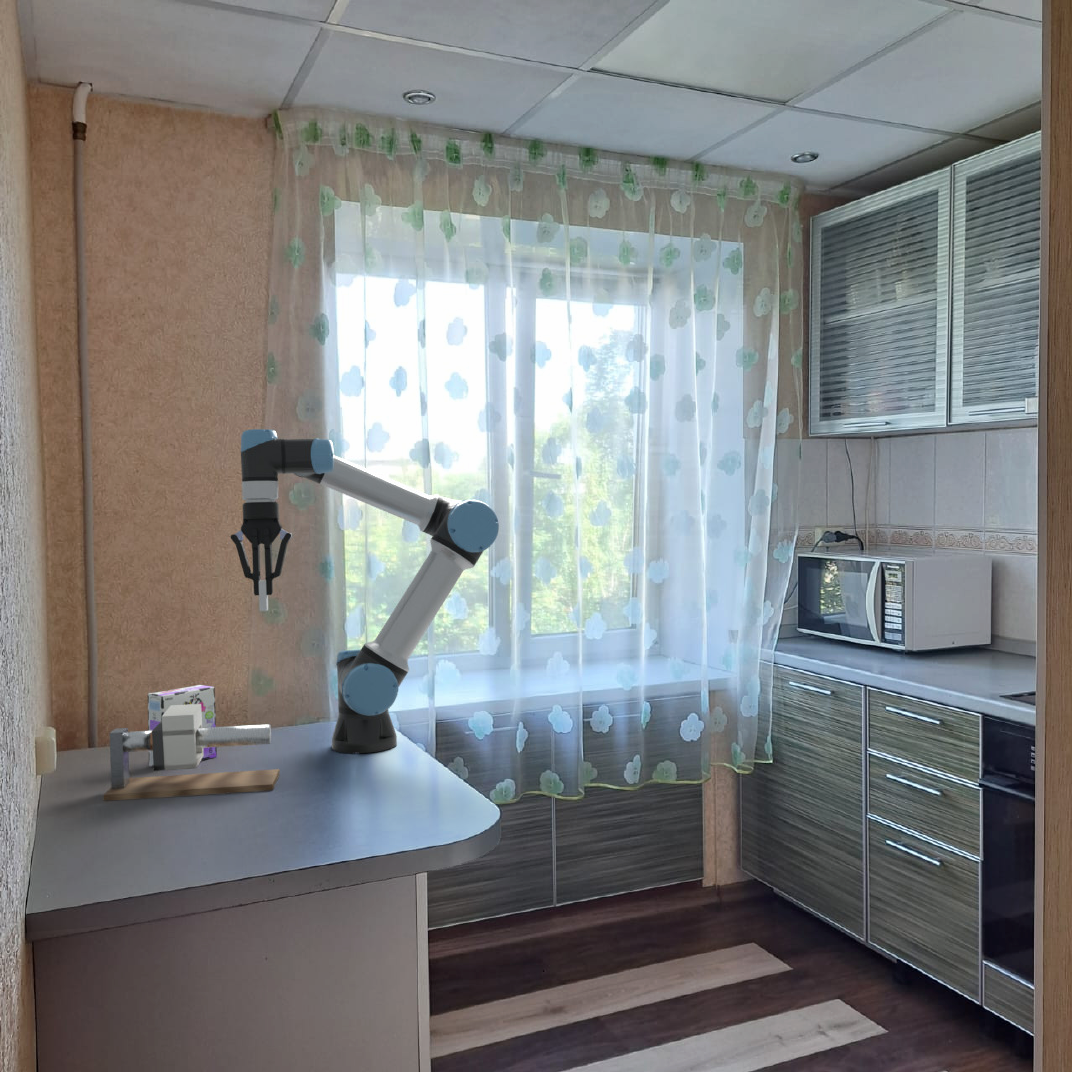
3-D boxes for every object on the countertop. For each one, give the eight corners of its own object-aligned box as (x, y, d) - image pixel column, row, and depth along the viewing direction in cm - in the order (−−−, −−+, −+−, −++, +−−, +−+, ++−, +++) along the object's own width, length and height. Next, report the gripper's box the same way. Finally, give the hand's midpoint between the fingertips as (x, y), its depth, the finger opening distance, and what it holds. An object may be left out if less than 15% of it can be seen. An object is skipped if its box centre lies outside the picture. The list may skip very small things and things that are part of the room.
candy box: (163, 770, 212) (160, 695, 212) (148, 766, 216) (145, 692, 215) (218, 757, 223) (215, 685, 223) (202, 753, 227) (200, 683, 226)
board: (279, 774, 206) (279, 769, 206) (272, 790, 194) (272, 784, 194) (120, 784, 201) (120, 778, 201) (103, 800, 189) (103, 794, 189)
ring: (173, 758, 201) (171, 720, 200) (164, 770, 193) (162, 730, 192) (163, 759, 201) (161, 720, 200) (153, 770, 193) (151, 730, 192)
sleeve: (203, 755, 202) (201, 703, 201) (196, 768, 194) (193, 714, 193) (173, 757, 201) (170, 705, 200) (164, 770, 193) (161, 716, 192)
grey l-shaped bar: (272, 774, 202) (270, 720, 202) (269, 779, 198) (268, 724, 198) (117, 783, 197) (115, 728, 197) (111, 789, 193) (109, 732, 193)
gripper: (293, 501, 215) (296, 607, 215) (232, 502, 213) (235, 610, 214) (289, 500, 208) (293, 610, 208) (226, 501, 206) (229, 613, 206)
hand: (263, 610), depth 211 cm, fingers closed
